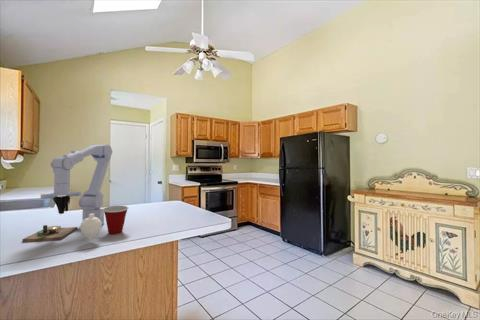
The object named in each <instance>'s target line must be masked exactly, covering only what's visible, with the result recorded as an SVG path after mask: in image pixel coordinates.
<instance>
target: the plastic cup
mask: <svg viewBox="0 0 480 320" xmlns="http://www.w3.org/2000/svg"><path fill="white" fill-rule="evenodd" d="M102 209H103V211H104V218H105V222H106V227H107V232H108V235H118V234H122V233H123V230H124V225H125V221H126V216H127V212H128V209H129V207H128V206H126V205H111V206H106V207H104V208H102Z"/></svg>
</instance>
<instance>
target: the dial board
mask: <svg viewBox="0 0 480 320" xmlns="http://www.w3.org/2000/svg"><path fill="white" fill-rule="evenodd" d="M78 228H79V226H73V227H70V226H69V227H61V228H60V229H58V230H52V231H48V232H47V233H43V229H41V230H39V231H37V232H35V233H33V234H31V235H28V236H26V237H24V238H22V239H21V240H22V242H21V243H33V242H50V241H62V240H63V239H65V238H67V237H68V236H69V235H71V234H73V233H74V232H76V231H77V230H78Z"/></svg>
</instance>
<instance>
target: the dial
mask: <svg viewBox="0 0 480 320" xmlns="http://www.w3.org/2000/svg"><path fill="white" fill-rule="evenodd" d="M60 228H62V226H61V225H51V226H48V224H44V225H43V226H42V230H43V233H47V232H48V231H52V230H58V229H60Z"/></svg>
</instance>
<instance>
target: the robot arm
mask: <svg viewBox="0 0 480 320" xmlns="http://www.w3.org/2000/svg"><path fill="white" fill-rule="evenodd" d="M112 155H113V149H112V147H111V145H110V144H91V145H88V147H85V148H83V149H81V150H80V151H79V150H73V149H72V150H70V153H66V154H63V155H62V156H57V157H54V158H53V159H52V160H51V162H50V167H51V168H52V172H53V175H54V176H53V177H54V178H53V192H52V193H43V194H42V193H41V194H40V200H46V199H48V200H49V199H52V200H53V201H54V204H55V205H56V208H57V212H58V215H63V214H64V213H65V210H66V208H67V206H68V203H69V201H70V200H71V198H73V197H80V198H79V200H78V205H79V207H80V208H81V210H82V219H81V220H82V221H81V223H82V222H83V220H84V219H86V218H89V214H94V217H97V218H99V219H100V220H101V222H102V225H103V224H105V213H104V211H103V209H104V208H101V207H102V206H103V202H104V194H103V193H102V192H101V190H102V185H103V183H104V180H105V177H106V173H107V170H108V167H109V164H110V161H111V158H112ZM89 156H91V157H92V158H93V160H94V161H95V162H96V166H95V169H94V173H93V175H92V179H91V181H90V184H89V186H88V189H87V190H85V191H84V192H83V193H82V191H70V190H71V189H70V188H71V170H72V169H73V168H74V166H76V165H77V164H79V163H81V162H83V161H84V159H85V157H89ZM78 228H80V226H78Z"/></svg>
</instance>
